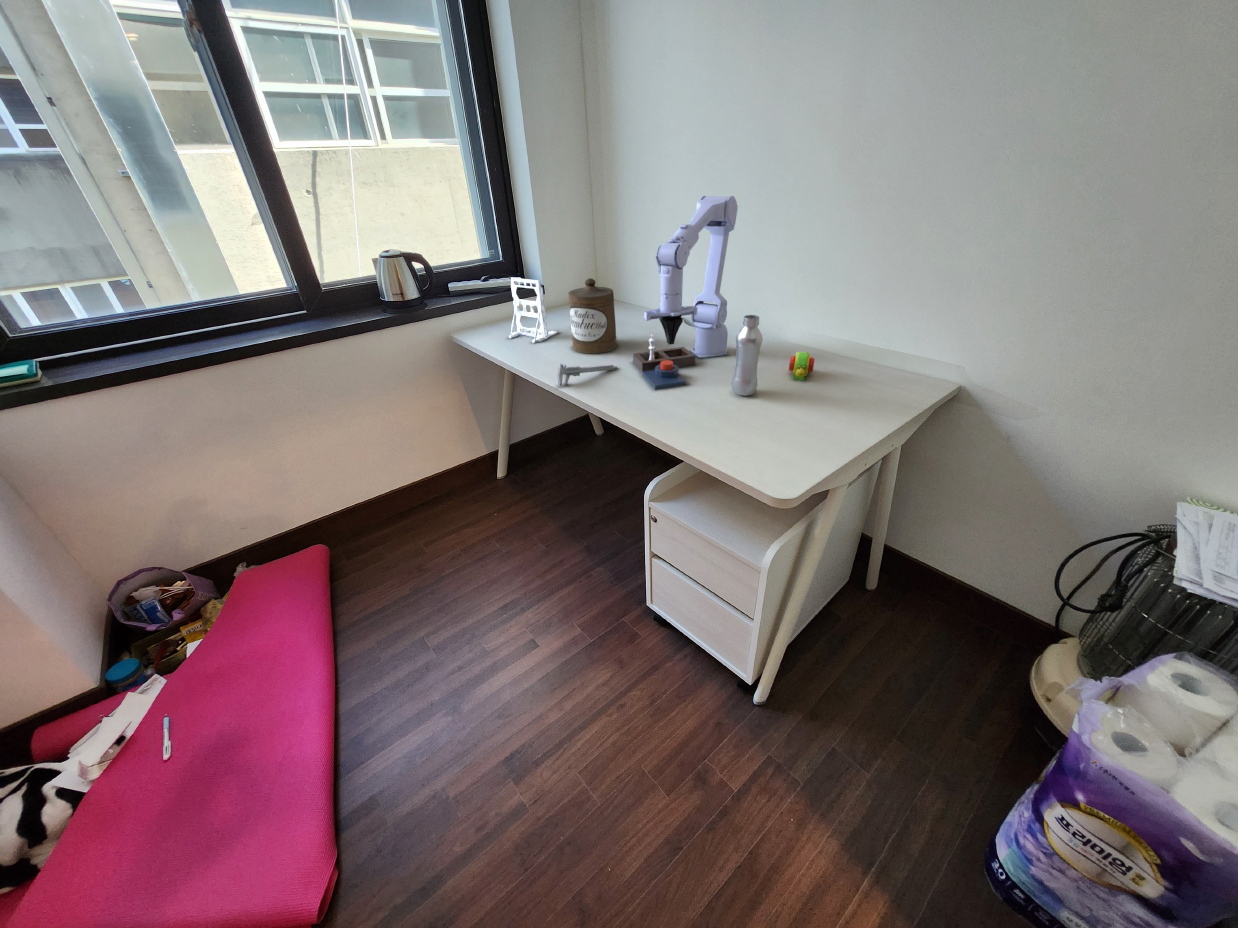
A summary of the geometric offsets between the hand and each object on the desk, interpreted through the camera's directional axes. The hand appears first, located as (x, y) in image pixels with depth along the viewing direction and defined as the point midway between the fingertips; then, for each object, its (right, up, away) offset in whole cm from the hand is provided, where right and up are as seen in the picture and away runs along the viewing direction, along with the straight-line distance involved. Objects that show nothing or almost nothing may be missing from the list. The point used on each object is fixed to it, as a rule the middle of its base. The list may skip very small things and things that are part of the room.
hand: (670, 343), depth 133 cm
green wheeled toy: (+38, -7, +6) cm, 39 cm away
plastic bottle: (+19, -15, -6) cm, 25 cm away
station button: (-1, -7, +3) cm, 7 cm away
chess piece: (-4, -4, +13) cm, 14 cm away
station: (-2, -10, +3) cm, 10 cm away
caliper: (-23, -8, +7) cm, 26 cm away
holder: (-1, -3, +14) cm, 14 cm away
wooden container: (-23, +6, +30) cm, 38 cm away
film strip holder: (-46, +14, +44) cm, 65 cm away
